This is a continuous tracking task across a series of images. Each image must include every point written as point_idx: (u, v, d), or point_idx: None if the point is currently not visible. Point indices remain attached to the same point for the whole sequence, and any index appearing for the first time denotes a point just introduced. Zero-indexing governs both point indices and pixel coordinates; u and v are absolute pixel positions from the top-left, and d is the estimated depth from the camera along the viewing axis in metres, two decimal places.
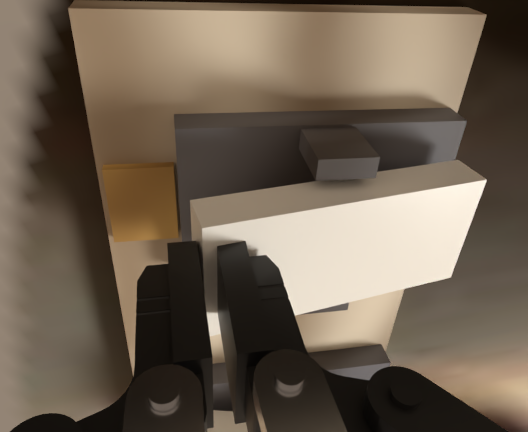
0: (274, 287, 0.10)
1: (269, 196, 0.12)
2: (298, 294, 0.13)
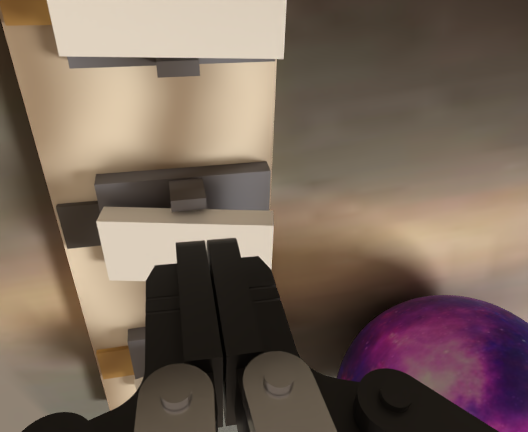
0: (266, 288, 0.10)
1: None
2: (131, 33, 0.16)
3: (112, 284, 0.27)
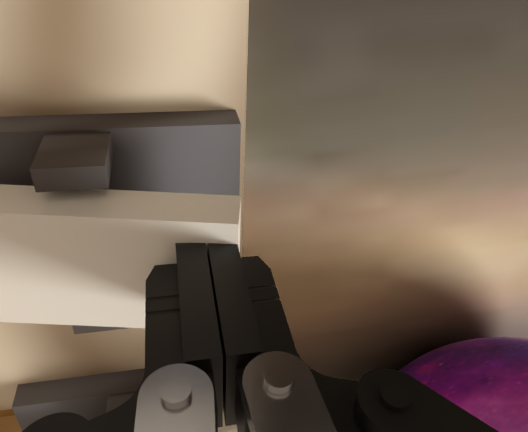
0: (265, 288, 0.10)
1: None
2: None
3: None
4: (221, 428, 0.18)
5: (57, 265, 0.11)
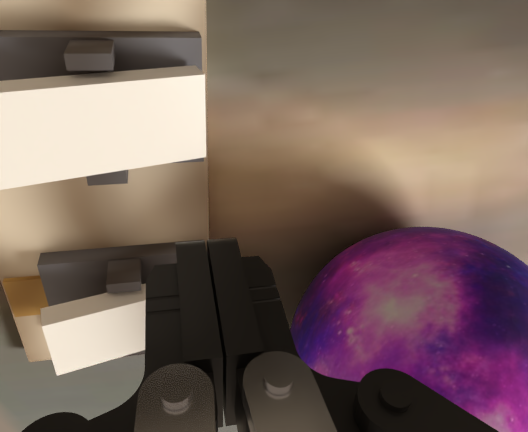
0: (266, 288, 0.10)
1: None
2: None
3: (15, 189, 0.22)
4: None
5: (93, 124, 0.17)
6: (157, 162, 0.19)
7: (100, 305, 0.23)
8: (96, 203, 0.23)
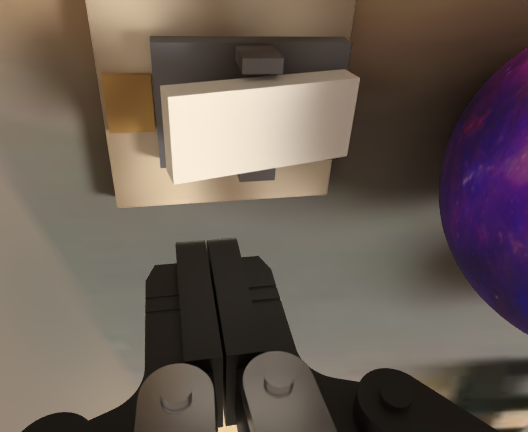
0: (266, 288, 0.10)
1: None
2: None
3: None
4: (343, 78, 0.19)
5: None
6: None
7: (234, 86, 0.18)
8: None
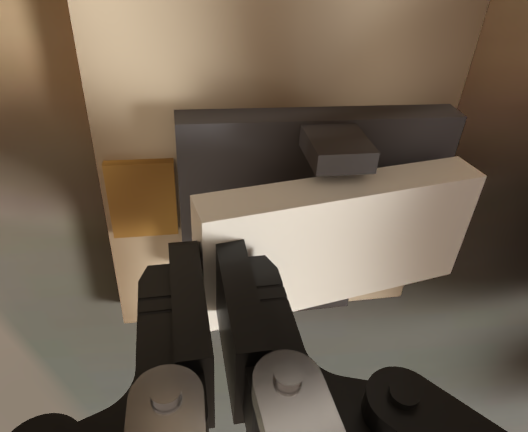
0: (273, 287, 0.10)
1: None
2: None
3: None
4: (461, 176, 0.13)
5: None
6: None
7: (303, 196, 0.12)
8: (292, 2, 0.12)
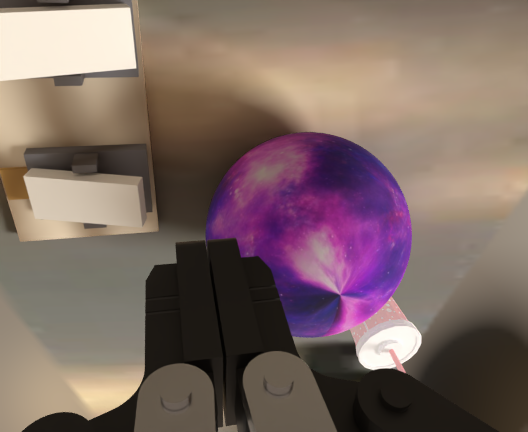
0: (266, 288, 0.10)
1: None
2: None
3: (7, 96, 0.31)
4: (128, 183, 0.32)
5: (56, 38, 0.27)
6: (101, 69, 0.29)
7: (63, 176, 0.33)
8: (65, 110, 0.33)
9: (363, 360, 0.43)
